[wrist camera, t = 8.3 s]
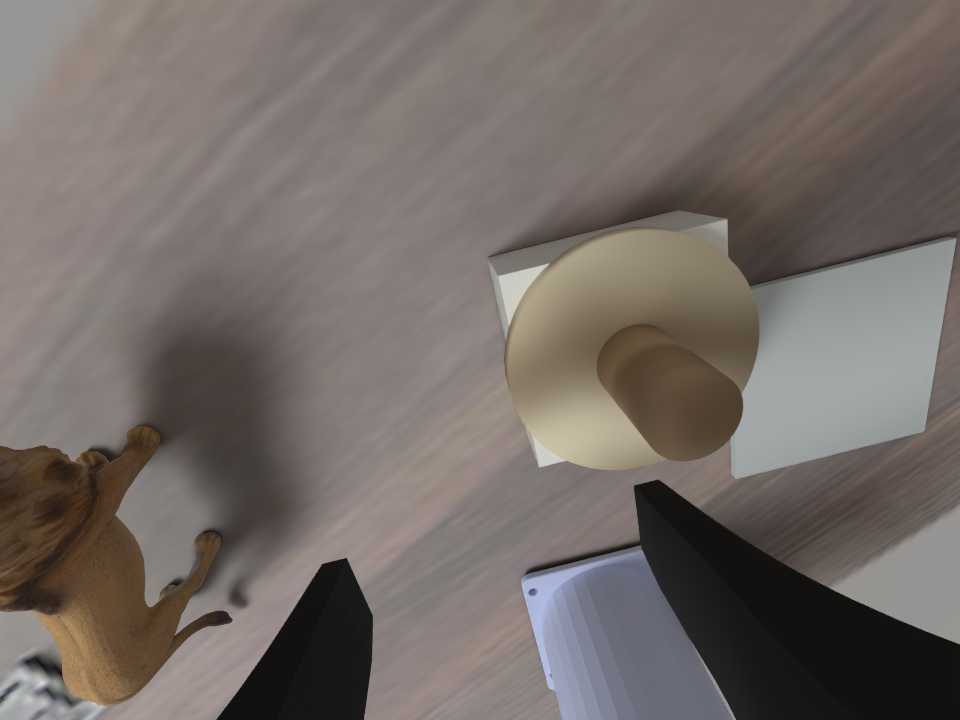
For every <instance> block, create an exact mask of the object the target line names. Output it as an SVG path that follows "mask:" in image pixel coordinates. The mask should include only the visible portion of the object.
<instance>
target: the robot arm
mask: <svg viewBox="0 0 960 720" xmlns="http://www.w3.org/2000/svg"><path fill="white" fill-rule="evenodd" d="M634 492H635V500H636V508H637V516H638V524H639V533H640V541H641V545H640V546H636V547H632V548H629V549H625V550H621V551H617V552H613V553H609V554H605V555H601V556H597V557H593V558H589V559H585V560H581V561H577V562H573V563H569V564H565V565H561V566H557V567H553V568H549V569H545V570H541V571H537V572H533V573H529V574H527V575H525V576H524V577H523V578H522V579H521V584H522V588H523V592H524V596H525V600H526V603H527V607H528V611H529V615H530V618H531V622H532V626H533V630H534V634H535V637H536V641H537V645H538V649H539V653H540V656H541V660H542V664H543V668H544V671H545V675H546V679H547V683H548V687H549V688H550V689H551V690H555V691H556V695H557V699H558V704H559V708H560V712H561V716H562V720H733V718H732V716H731V715H730V713H729V711H728V709H727V707H726V705H725V704H724V702H723V700H722V698H721V697H720V695H719V693H718V691H717V689H716V687H715V685H714V684H713V682H712V680H711V678H710V676H709V675H708V673H707V671H706V669H705V667H704V665H703V664H702V662H701V660H700V658H699V656H698V654H697V653H696V651H695V649H694V647H693V645H692V644H691V642H690V640H689V638H690V639H691V641H692V643H693V644H694V646H695V648H696V649H697V651H698V653H699V654H700V656H701V658H702V659H703V661H704V663H705V664H706V666H707V668H708V669H709V671H710V672H711V674H712V676H713V677H714V679H715V680H716V683H717V684H718V686H719V688H720V690H721V692H722V693H723V695H724V697H725V699H726V701H727V702H728V704H729V706H730V708H731V710H732V712H733V714H734V716H735V718H736V720H960V644H957V643H955V642H952V641H949V640H947V639H944V638H942V637H939V636H936V635H934V634H931V633H928V632H926V631H924V630H921V629H919V628H916V627H914V626H912V625H909V624H907V623H904V622H902V621H899V620H897V619H895V618H892V617H890V616H888V615H886V614H884V613H881V612H879V611H877V610H875V609H872V608H870V607H868V606H866V605H864V604H861V603H859V602H856V601H854V600H852V599H850V598H848V597H846V596H844V595H842V594H840V593H838V592H836V591H834V590H832V589H830V588H828V587H826V586H824V585H822V584H820V583H818V582H816V581H814V580H812V579H810V578H809V577H807V576H805V575H803V574H801V573H799V572H797V571H795V570H794V569H792V568H790V567H788V566H787V565H785V564H783V563H781V562H780V561H778V560H776V559H775V558H773V557H771V556H770V555H768V554H766V553H765V552H763V551H761V550H760V549H758V548H756V547H755V546H753V545H752V544H750V543H748V542H747V541H745V540H744V539H742V538H741V537H739V536H738V535H736V534H735V533H733V532H732V531H730V530H729V529H727V528H726V527H724V526H723V525H721V524H720V523H718V522H717V521H715V520H714V519H712V518H711V517H709V516H708V515H706V514H705V513H704V512H702V511H701V510H699V509H698V508H697V507H695V506H694V505H693V504H691V503H690V502H688V501H687V500H686V499H684V498H683V497H682V496H680V495H679V494H678V493H676V492H675V491H674V490H672V489H671V488H669V487H668V486H667V485H665V484H664V483H663V482H661V481H659V480H655V481H651V482H647V483H643V484H639V485H635V486H634ZM530 589H533V590H530ZM679 621H680V622H679ZM682 626H683V627H682ZM683 628H684V629H683ZM684 630H685V631H686V633H687V634H688V636H689V638H688V636H687V634H686V633H685V631H684ZM372 638H373V615H372V613H371V611H370V609H369V607H368V604H367V602H366V600H365V598H364V595H363V593H362V591H361V589H360V587H359V584H358V582H357V580H356V578H355V575H354V573H353V571H352V569H351V567H350V564H349V562H348V560H347V558H345V559H341V560H337V561H333V562H329V563H325V564H322V565H321V567H320V569H319V570H318V572H317V573H316V575H315V576H314V578H313V579H312V581H311V582H310V584H309V586H308V587H307V589H306V590H305V592H304V594H303V595H302V597H301V598H300V600H299V602H298V603H297V605H296V606H295V608H294V609H293V611H292V613H291V614H290V616H289V617H288V619H287V620H286V622H285V623H284V625H283V627H282V628H281V630H280V631H279V633H278V634H277V636H276V637H275V639H274V640H273V642H272V643H271V645H270V646H269V648H268V649H267V651H266V652H265V654H264V655H263V657H262V658H261V659H260V661H259V662H258V664H257V665H256V667H255V668H254V669H253V671H252V672H251V674H250V675H249V676H248V678H247V679H246V681H245V682H244V684H243V685H242V686H241V688H240V689H239V691H238V692H237V693H236V695H235V696H234V697H233V699H232V700H231V701H230V703H229V704H228V705H227V707H226V708H225V709H224V710H223V712H222V713H221V714H220V716H219V717H218V718H217V719H216V720H364V714H365V707H366V700H367V693H368V686H369V678H370V671H371V663H372Z"/></svg>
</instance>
